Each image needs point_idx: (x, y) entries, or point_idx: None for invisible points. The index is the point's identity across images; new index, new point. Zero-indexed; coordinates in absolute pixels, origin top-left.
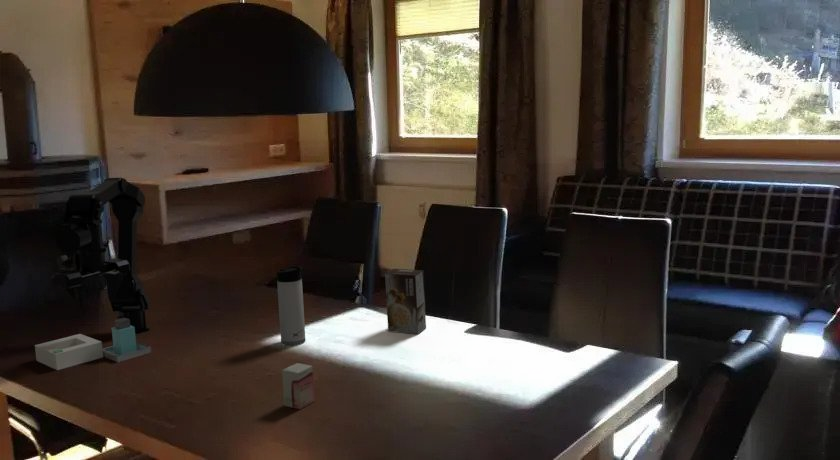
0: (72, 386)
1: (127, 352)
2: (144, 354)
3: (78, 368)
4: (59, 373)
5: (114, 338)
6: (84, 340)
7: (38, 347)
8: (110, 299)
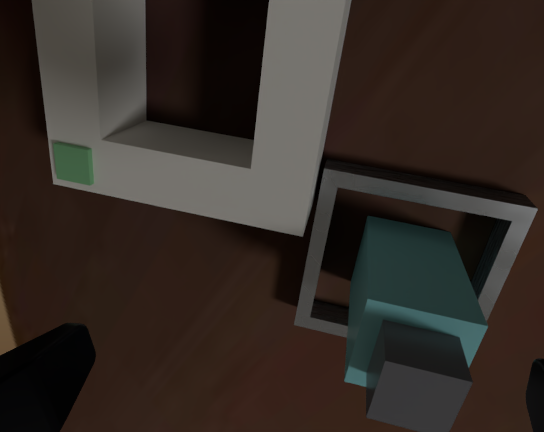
0: None
1: None
2: None
3: (169, 219)
4: (96, 199)
5: (362, 281)
6: (267, 113)
7: None
8: (536, 402)
